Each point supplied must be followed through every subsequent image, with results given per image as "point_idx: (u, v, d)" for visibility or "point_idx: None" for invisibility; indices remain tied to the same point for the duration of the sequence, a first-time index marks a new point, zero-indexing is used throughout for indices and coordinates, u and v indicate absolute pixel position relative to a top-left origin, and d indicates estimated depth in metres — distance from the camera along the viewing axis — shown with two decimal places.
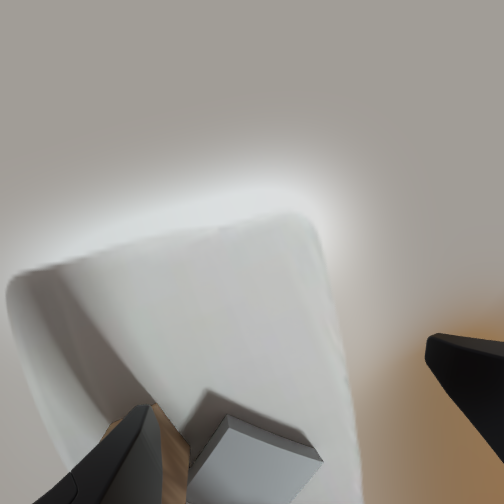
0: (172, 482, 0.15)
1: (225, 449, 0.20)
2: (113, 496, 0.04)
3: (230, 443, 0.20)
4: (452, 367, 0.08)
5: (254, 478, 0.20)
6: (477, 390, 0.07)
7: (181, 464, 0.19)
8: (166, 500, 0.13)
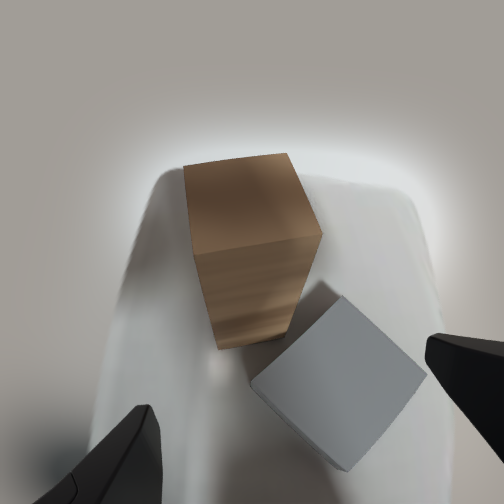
0: None
1: (333, 319, 0.21)
2: (113, 496, 0.04)
3: (340, 313, 0.21)
4: (452, 367, 0.08)
5: (354, 371, 0.19)
6: (477, 391, 0.07)
7: None
8: None
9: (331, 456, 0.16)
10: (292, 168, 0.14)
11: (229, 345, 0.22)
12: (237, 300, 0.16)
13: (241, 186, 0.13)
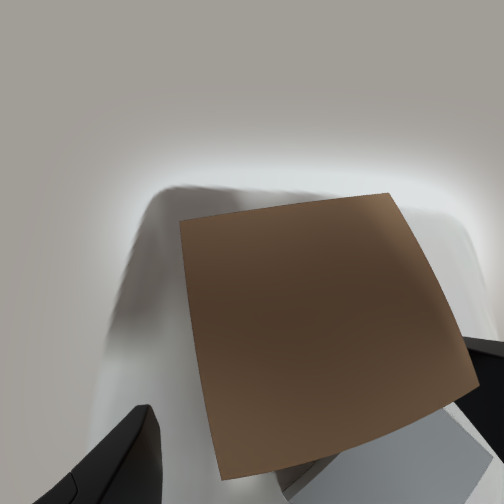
0: None
1: None
2: (113, 496, 0.04)
3: None
4: None
5: (417, 472, 0.11)
6: (477, 390, 0.07)
7: None
8: None
9: None
10: (408, 229, 0.06)
11: None
12: None
13: (318, 280, 0.06)
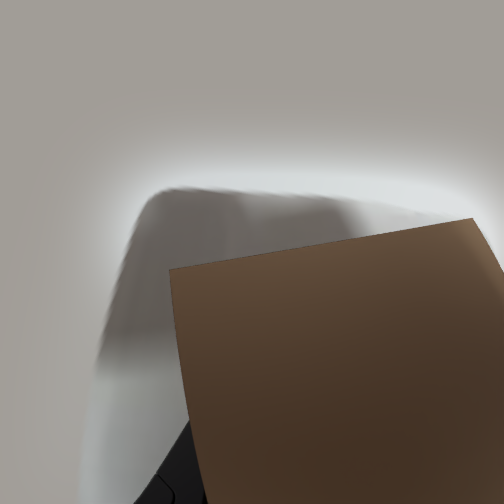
0: None
1: None
2: None
3: None
4: None
5: None
6: None
7: None
8: None
9: None
10: (502, 274, 0.04)
11: None
12: None
13: (403, 373, 0.03)
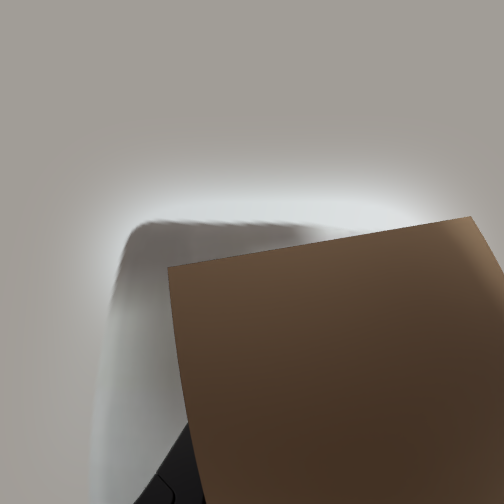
0: None
1: None
2: None
3: None
4: None
5: None
6: None
7: None
8: None
9: None
10: (500, 272, 0.04)
11: None
12: None
13: (401, 372, 0.03)
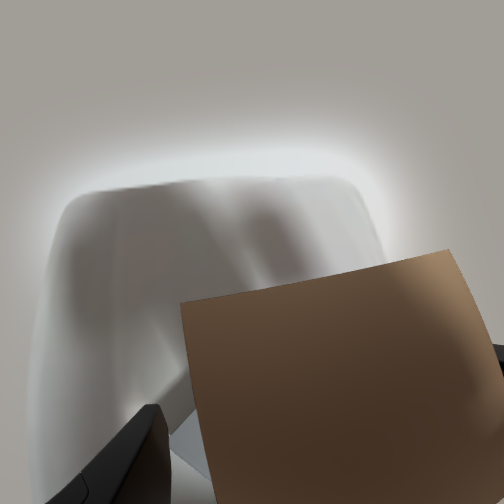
0: None
1: None
2: (124, 497, 0.04)
3: None
4: None
5: None
6: None
7: None
8: None
9: None
10: (472, 302, 0.05)
11: None
12: None
13: (372, 390, 0.04)
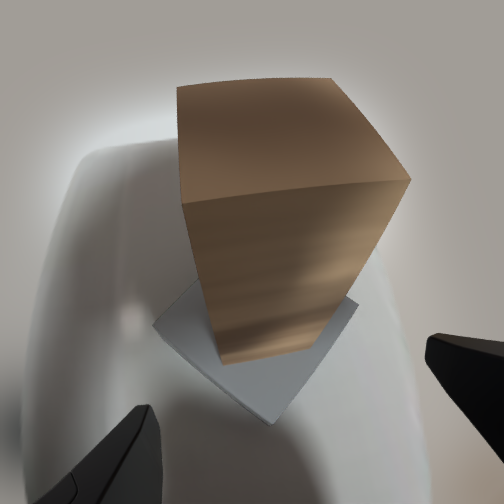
0: None
1: None
2: (113, 496, 0.04)
3: None
4: (452, 367, 0.08)
5: None
6: (477, 391, 0.07)
7: None
8: None
9: (249, 405, 0.15)
10: (343, 94, 0.08)
11: (237, 360, 0.16)
12: (255, 299, 0.10)
13: (268, 107, 0.08)
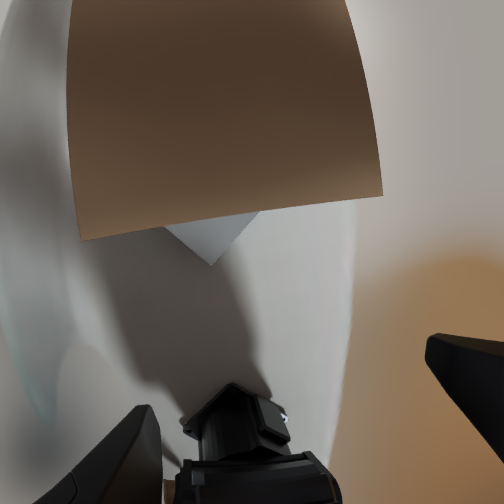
0: None
1: None
2: (113, 497, 0.04)
3: None
4: (452, 367, 0.08)
5: None
6: (477, 391, 0.07)
7: None
8: None
9: (190, 246, 0.18)
10: (342, 2, 0.04)
11: None
12: None
13: (208, 30, 0.04)
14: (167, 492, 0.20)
